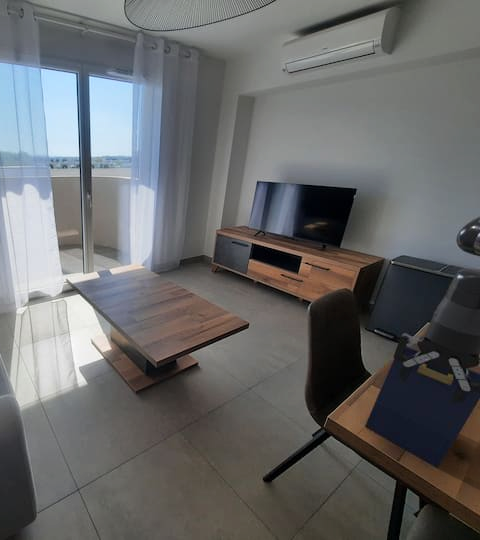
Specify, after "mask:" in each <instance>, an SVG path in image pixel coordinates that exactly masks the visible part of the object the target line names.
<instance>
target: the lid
mask: <svg viewBox="0 0 480 540" xmlns="http://www.w3.org/2000/svg"><path fill="white" fill-rule="evenodd" d="M418 352H420V349H419V350H418V349H416V348H414V347H411V346H407V347H406V350H405V353H404V355H406V356H407V357H410V356H412V355H415V354H416V353H418ZM402 366H403V364H402V363H401V362H400V361H399V360H395V359H394V358H393V361H392V364H391V365H390V368H389V370H388V372H387V374H386V377H385V379H384V381H383V383H382V386H381V388H380V390H379V392H378V395H377V396H376V400H375V402H376V401H377V402H379V403H381V404H383V405H385V406H387V407H389V408H391V409H393V410H395V411H397V412H399V413H401V414H403V415H405V416H407V417H409V418H411V419H413V420H415V421H417V422H419V423H421V424H423V425H425V426H427V427H429V428H431V429H433V430H435V431H437V432H439V433H440V434H442V435H444V436H446V437H448V438H450V439H452V440H454V442H455V441H456V439H457V438H458V437H459V435H460V433H461V431H462V430H463V428H464V426H465V424H466V423H467V421H468V420H469V418H470V416H471V415H472V413H473V411H474V409H475V408H476V406H477V404H478V403H479V401H480V394H479V393H478V392H474V391H471V392H469V393H468V395H467V396H466V398H465V400H464V401H463V402H462V403H459V402H457V403H456V404H455V403H453V402H451V399H452V397H453V395H454V393H455V392H456V390H457V388H458V386H459V381H458V380H457V379H456V376H455V374H454V371H447V370H444V369H443V368H441V367H439V366H434V365H431V364H429V362H427V361H426V362H423V363H420V364H416V365H413V367H412V369H411V372H410V374H409V376H408V378H407V380H406V381H402V380H401V379H402V378H401V377H399V373H400V371H401V368H402ZM467 370H468V373H469V377H470V379H471V382H475V383H479V382H480V372H477V371H475V370H473V369H471V368H468V369H467Z"/></svg>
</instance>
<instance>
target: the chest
mask: <svg viewBox="0 0 480 540" xmlns="http://www.w3.org/2000/svg"><path fill="white" fill-rule="evenodd" d="M364 427H365V428H367V429H368V430H370V431H371V432H373V433H375V434H377V435H378V436H381V437H382V438H384V439H386V440H387V441H389V442H391V443H393V444H394V445H396V446H397V447H399V448H401V449H404V450H405V451H407V452H408V453H410V454H412V455H414V456H415V457H417V458H419V459H421V460H422V461H424V462H426V463H427V464H429V465H431V466H432V467H434V468H436V469H439V467H440V465H442V463H443V461H444V459H445V457H446V456H447V454H448V452H449V450H451V448H452V446H453V444H454V442H455V441H454V440H452V439H450V438H448V437H446V436H444V435H442V434H440V433H439V432H437V431H435V430H433V429H431V428H429V427H427V426H425V425H423V424H421V423H419V422H417V421H415V420H413V419H411V418H409V417H407V416H405V415H403V414H401V413H399V412H397V411H395V410H393V409H391V408H389V407H387V406H385V405H383V404H381V403H379V402H377V401H376V400H375V402H374V404H373V407H372V409H371V411H370V413H369V415H368V418H367V420H366V422H365V425H364Z"/></svg>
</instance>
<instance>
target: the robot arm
mask: <svg viewBox="0 0 480 540" xmlns="http://www.w3.org/2000/svg"><path fill="white" fill-rule="evenodd" d="M456 245H457V246H458V248H459V249H460V250H462V251H463V252H464V253H467V254H470V255H473V256H477V257H480V216H478V217H475V218H473V219H472V220H470V221H468V222H467V223H466V224H465V225H463V226H462V227H461V228H460V230H459V231H458V233H457V235H456ZM413 345H417V347H418V349H419V351H420V352H418V353H416V354H415V355H412V356H410V357H407V356H406V355H404V353H405V350H406V347H407V346H408V347H412V346H413ZM394 359H395V360H399V361H400V362H401V363H402V364H403V366H402V368H401V371H400V373H399V377H401V378H402V379H401V380H402V381H406V380H407V378H408V376H409V374H410V372H411V369H412V367H413V365H416V364H420V363H423V362H426V361H427V362H429V364H431V365H434V366H439V367H441V368H443V369H444V370H447V371H454V374H455V376H456V379H457V380H458V381H459V386H458V388H457V390H456V392H455V393H454V395H453V397H452V399H451V402H453V403H455V404H456V403H457V402H459V403H462V402H463V401H464V400H465V398H466V396H467V395H468V393H469V392H471V391H474V392H478V393H479V394H480V382H479V383H475V382H471V379H470V377H469V373H468V370H467V369H471V368H475V367H479V368H480V268H472V267H470V268H469V267H468V268H462V269H460V270H458V271H457V272H456V273H455V274H454V276H453V278H452V279H451V281H450V284H449V286H448V289H447V290H446V292H445V295H444V297H443V298H442V300H441V301H440V303H439V304H437V308H436V309H435V311H434V312H433V316H432V318H431V321H430V323H429V324H428V327H427V329H426V331H425V333H424V335H423V336H422V337H421V338H419V337H415V336H412V335H411V333H409V332H404V333H402V335H401V336H400V338H399V340H398V343H397V346H396V349H395V351H394V354H393V360H394Z"/></svg>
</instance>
